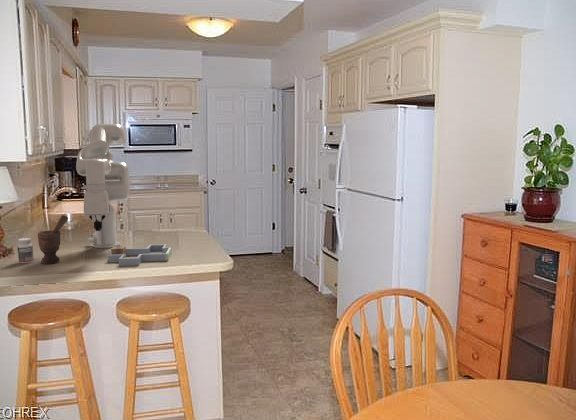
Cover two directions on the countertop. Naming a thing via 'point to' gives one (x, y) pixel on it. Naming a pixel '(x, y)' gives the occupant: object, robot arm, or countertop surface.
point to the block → (118, 250)
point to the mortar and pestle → (51, 242)
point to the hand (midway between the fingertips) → (98, 230)
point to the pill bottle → (25, 250)
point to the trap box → (142, 255)
